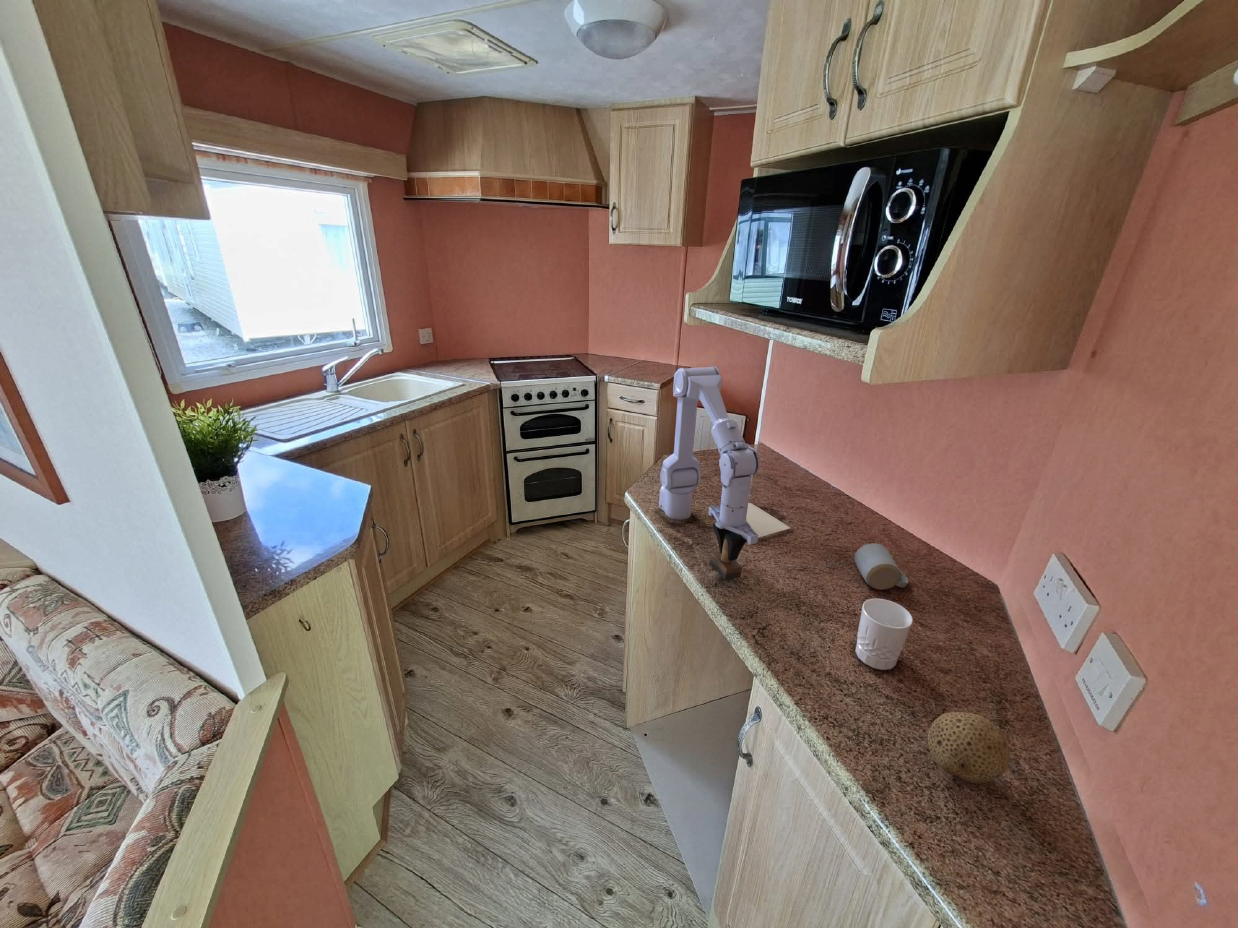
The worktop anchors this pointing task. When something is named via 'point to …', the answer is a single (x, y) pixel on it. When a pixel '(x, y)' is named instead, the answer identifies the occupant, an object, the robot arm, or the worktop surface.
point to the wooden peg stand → (725, 563)
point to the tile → (763, 521)
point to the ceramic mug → (879, 567)
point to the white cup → (882, 633)
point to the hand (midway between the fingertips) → (728, 555)
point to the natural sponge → (968, 747)
